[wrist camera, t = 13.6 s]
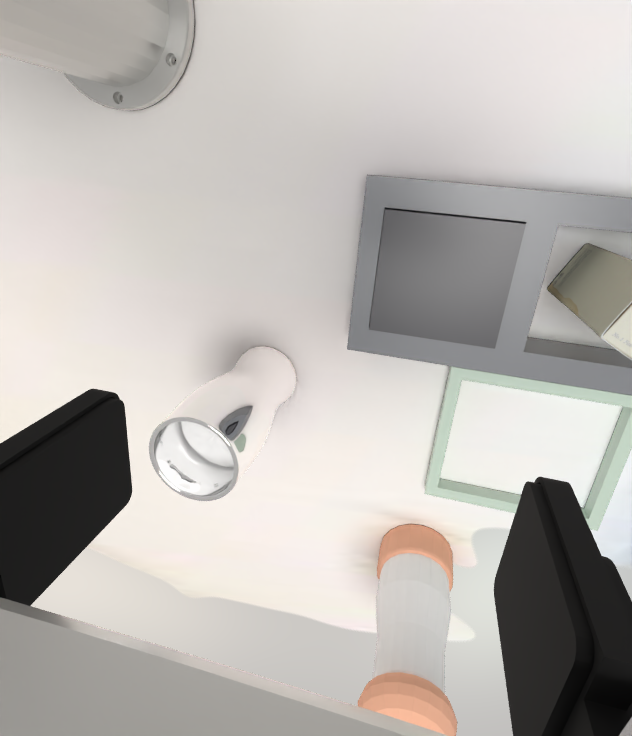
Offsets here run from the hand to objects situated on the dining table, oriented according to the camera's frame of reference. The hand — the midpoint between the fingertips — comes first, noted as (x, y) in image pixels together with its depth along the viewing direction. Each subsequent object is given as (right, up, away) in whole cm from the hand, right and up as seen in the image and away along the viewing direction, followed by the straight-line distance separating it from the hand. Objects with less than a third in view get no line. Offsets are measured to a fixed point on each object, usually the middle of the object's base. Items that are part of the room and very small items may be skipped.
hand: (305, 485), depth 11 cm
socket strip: (+16, +10, +26) cm, 32 cm away
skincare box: (+22, +9, +25) cm, 34 cm away
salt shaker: (+11, -16, +38) cm, 43 cm away
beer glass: (-4, +2, +34) cm, 35 cm away
